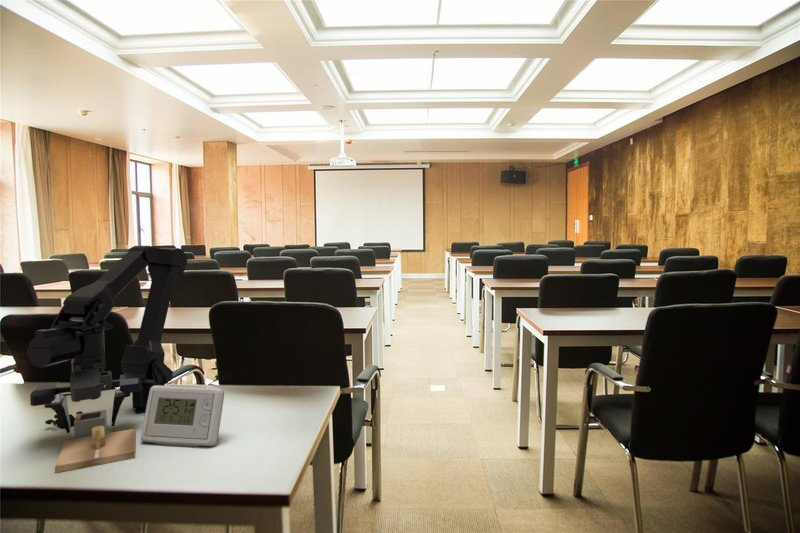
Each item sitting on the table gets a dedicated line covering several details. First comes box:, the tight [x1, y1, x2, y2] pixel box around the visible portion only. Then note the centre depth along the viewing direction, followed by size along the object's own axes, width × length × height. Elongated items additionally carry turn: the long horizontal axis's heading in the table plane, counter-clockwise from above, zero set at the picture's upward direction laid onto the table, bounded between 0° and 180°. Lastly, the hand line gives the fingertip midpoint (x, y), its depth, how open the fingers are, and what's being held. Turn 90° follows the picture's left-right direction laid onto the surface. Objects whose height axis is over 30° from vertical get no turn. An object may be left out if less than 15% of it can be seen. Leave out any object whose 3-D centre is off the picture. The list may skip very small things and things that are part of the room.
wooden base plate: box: [54, 426, 137, 474], centre depth 90 cm, size 12×12×5 cm
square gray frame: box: [73, 409, 108, 439], centre depth 98 cm, size 5×5×5 cm
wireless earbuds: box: [44, 411, 84, 430], centre depth 103 cm, size 7×2×5 cm
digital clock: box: [140, 384, 225, 447], centre depth 95 cm, size 16×9×11 cm, turn 71°
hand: (91, 429), depth 98 cm, fingers open, 7 cm apart
